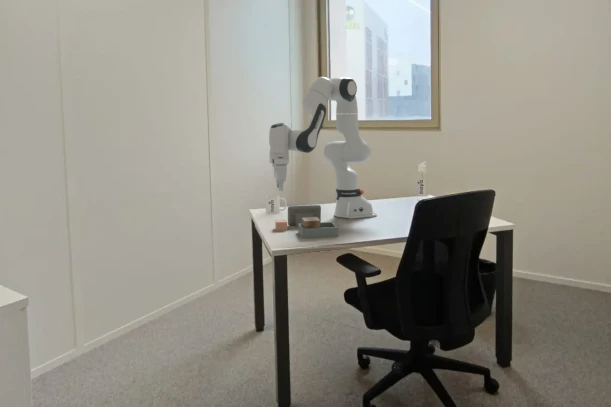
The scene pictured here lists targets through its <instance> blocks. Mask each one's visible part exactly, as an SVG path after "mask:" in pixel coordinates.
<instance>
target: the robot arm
mask: <svg viewBox="0 0 611 407" xmlns="http://www.w3.org/2000/svg"><path fill="white" fill-rule="evenodd" d="M357 90H358V85H357V83H356V81H355V79H353V78H351V77H348V76H347V77H332V78H328V77H325V76H319V77H317V78H316V79H315V80H314V81H313V82H312V83H311V85H310V86H309V87H308V88H307V91H306V93H305V95H304V96H303V99H302V106H303V109H304V110H305V111H306V112H307V114H309V115H311V117H310V121H309V123H308V125H307V127H306V128H305V129H302V130H297V129H293V128H291V127H289V126H288V124H287V123H286V122H285V123H284V122H279V123H274V124H271V125H270V128H269V134H268V143H269V164H272V167H273V176H274V179H275V181H276V188H277V189H278V190H279V192H282V191H284V182H286V180H287V172H288V171H287V170H288V165H289V163H290V152H300V153H301V152H302V153H308V154H309V153H311V152H312V151H314V150H315V148H316V146H317V143H318V137H319V136H320V135H319V134H320V133H321V129H322V127H323V123H324V121H325V117H326V115H327V108H326V105H327V104H328V102H329V101H335V102H336V108H335V109H336V110H335V121H336V122H335V123H336V124H335V127H336V128H335V129H336V130H337V131H338V133H340V134H342V135H343V136H344V139H345V140H333V141H328V142H327V143H326V144H325V146H324V147H323V155H324V158H325V159H326V160H327V161H329V163H330V164H331V166H332V167H333V169H334V173H335V177H336V188H335V200H336V202H335V203H336V204H335V209H334V210H335V211H334V213H333V216H334V217H336V218H346V219H360V218H371V217H377V216H378V213H377V212H376V211H375V210H373V205H372V203H371V201H369V200H368V199H367V198H365V197H364V196H363V195H364V193H365V191H364V190H363V189H360V188H359V175H358V173H357V171H356V170H354V169H352V168H351V166H350V165H349V164H350V163H351V164H352V163H353V164H354V163H355V164H357V163H358V164H360V163H365V162H367V161H368V160H369V159H370V157H371V153H372V150H371V147H370V145H369V144H368V142H366V141H365V140H364V139H363V137H362V136H361V134H360V130H359V129H360V128H359V116H358V115H359V110H358V108H359V107H358V101H357V96H356V94H357V92H358V91H357Z"/></svg>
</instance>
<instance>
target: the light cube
mask: <svg viewBox="0 0 611 407" xmlns="http://www.w3.org/2000/svg"><path fill="white" fill-rule="evenodd" d="M275 231H277V232H278V231H280V232H281V231H288V220H286V219H278V220H277V219H276V220H275Z"/></svg>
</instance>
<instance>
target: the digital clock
mask: <svg viewBox="0 0 611 407" xmlns="http://www.w3.org/2000/svg"><path fill="white" fill-rule="evenodd" d="M307 217H318V218H319V220H320V222H322V221H321V220H322V206H321V205H320V204H315V205H313V204H309V205H290V206H288V207H287V226H288V227H298V224H299V223H302V218H307Z"/></svg>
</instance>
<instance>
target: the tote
mask: <svg viewBox="0 0 611 407" xmlns="http://www.w3.org/2000/svg"><path fill="white" fill-rule="evenodd" d="M297 229H298V230H297V231H298V234H299V236H300V237H301V239H312V238H314V239H315V238H330V237H331V238H333V237H339V227H338V225H337V224H336V223H335V222H333V221H326V222H325V221H324V222H322V221H321V222H320V228H305V229H304V228H303V227H302V223H299V224H298V228H297Z"/></svg>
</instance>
